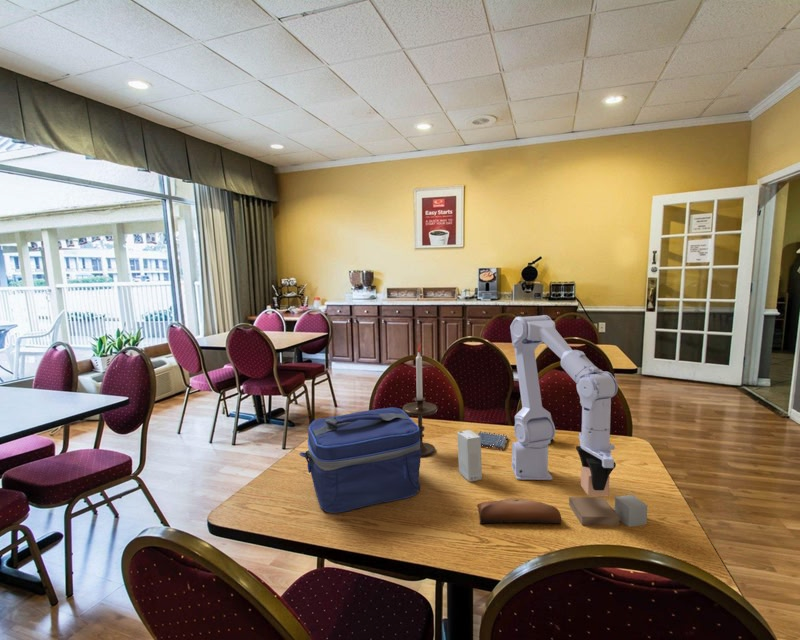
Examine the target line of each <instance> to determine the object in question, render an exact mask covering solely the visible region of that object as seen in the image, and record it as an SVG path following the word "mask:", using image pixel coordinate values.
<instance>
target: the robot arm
mask: <svg viewBox="0 0 800 640" xmlns="http://www.w3.org/2000/svg"><path fill="white" fill-rule="evenodd" d="M509 328H510V337H511V344H512V347H513V348H514V355H515V356H514V357H515V362H516V363H515V364H516V371H517V378H518V385H519V393H520V400H521V406H522V407H521V409H520V410H519V411H518V412H517V413H516V414H515V415H514V428H513V429H514V430H513V431H514V436H515V438H516V440H517V441H514V442H512V445H511V469H512V471H513V474H514V476H515V478H516V479H517V480H519V481H522V480H528V481H529V480H530V481H531V480H532V481H533V480H534V481H536V480H537V481H542V480H543V481H552V480H553V476H552V475H551V474H550V472H549V469H548V468H549V445H551V444H552V443H551V439H553V440H554V438H555V437H556V427H555V422H554V423H553V421H552V419H551V417H552V415H551V412H549V411H548V410H547V409H546V408H544V407H543V403H542V395H541V387H540V380H539V374H538V366H537V360H536V353H535V351H536V349H537V348H538V346H539V345H541V344H543V343H544V344H545V346H546V347H547V348H549V350H551V351H552V352H553V353H554V354H555V355H556V356H557V357H558V358H559V359H560V367H561V368H562V369H563V370H564V371H565V372H566V373H567V375H568V376H569V377H570V378H571V379H572V380H573V382H575V384H576V391H577V394H578V396H579V404H580V406H581V432H579V433H578V441H579V444H580V445H577V446H575V450H576V451H577V454H578V456H579V459H580V462H581V467H589V468H590V471H591V478H592V485H593V489H594V490H604V488H605V486H606V482H607V480H608V477H609V476H610V475H611V473H612V471H613V470H614V469H615V468H616V465H617V463H616V462H615V459H614V457H613V456H612V451H615V448H616V447H615V446H616V445H614V444H612V443H611V442H610V438H611V437H610V435H611V406H612V398H613V397H615V396H616V395H617V393H618V390H619V389H618V387H619V386H618V382H617V380H616V378H615V377H614V375H613V374H612V373H611V372H609V371H603V369H600V368H598V367H597V366H596V365H595V364H594V363H593V362H592V361H591V360H590V359H589V358H588V357H587V356H586V353H584V351H582V350H578V349H572V347H571V346H570V345H569V344H568V342H567V341H566V340H565V339H564V337H562V335H561V334H560V333H559V332H558V330H557V329H556V322H555V321H554V320H552V318H551V316H549V315H547V314H541V315H533V316H530V315H529V316H515V318H514V319H513V320H512V322H511V324H510V326H509ZM534 418H536V419H534ZM550 443H551V444H550Z"/></svg>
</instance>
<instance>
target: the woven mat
mask: <svg viewBox="0 0 800 640" xmlns="http://www.w3.org/2000/svg"><path fill="white" fill-rule="evenodd" d="M477 435H478V436H480V437H481V447H488V448H489V447H490V448H492V449H491V450H495V449H498V451H502V449H503V450H505V449H506V446H507V445H506V444H507V443H508V440H509V437H508V435H505V434H500V433H497V434H496V433H495V432H494V433H491V432H489V433H488V432H486V431H484V432H482V431H481V430H479V432H478V433H477ZM504 437H505V438H504ZM506 439H508V440H506ZM500 440H501V441H500ZM505 443H506V444H505ZM493 444H494V445H493ZM482 445H484V446H482ZM490 445H491V446H490ZM492 446H493V447H492ZM495 446H496V447H495ZM488 448H487V449H488ZM500 448H501V449H500ZM499 449H500V450H499Z"/></svg>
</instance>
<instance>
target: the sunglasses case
mask: <svg viewBox="0 0 800 640" xmlns="http://www.w3.org/2000/svg"><path fill="white" fill-rule="evenodd" d="M476 507H477V510H478V517H479V524H498V523H545V524H547V523H548V524H559V525H562V515H561V512H560V510H559V509H558V508H557V507H556V506H554V505H551V504H548V503H544V502H541V501H537V500H531V499H523V498H506V499H500V500H491V501H490V500H489V501H483V502H480V503H477V505H476Z"/></svg>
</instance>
